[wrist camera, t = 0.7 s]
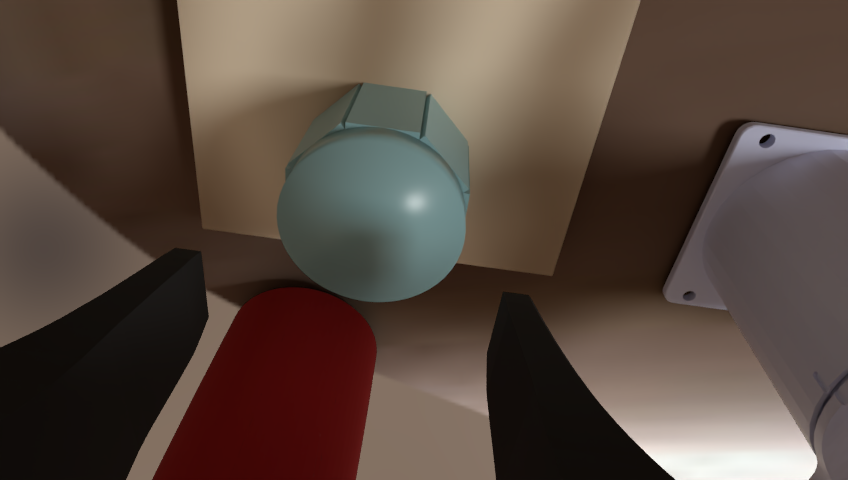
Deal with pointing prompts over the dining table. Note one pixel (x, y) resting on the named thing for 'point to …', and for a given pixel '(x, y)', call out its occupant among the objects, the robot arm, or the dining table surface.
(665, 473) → the robot arm
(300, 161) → the cap
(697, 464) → the dining table surface
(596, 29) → the stud plate
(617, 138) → the dining table surface
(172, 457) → the beverage can
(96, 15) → the dining table surface
